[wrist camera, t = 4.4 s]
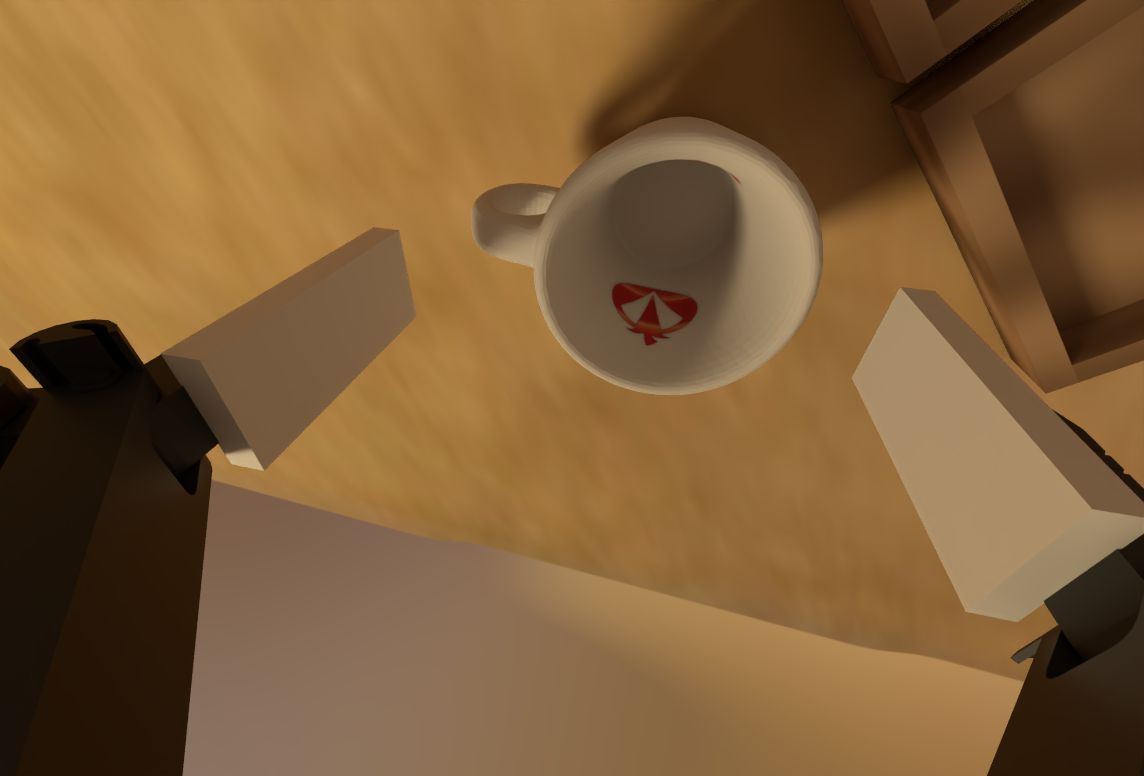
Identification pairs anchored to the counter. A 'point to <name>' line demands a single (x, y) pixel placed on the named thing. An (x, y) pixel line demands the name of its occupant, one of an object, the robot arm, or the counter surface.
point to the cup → (665, 255)
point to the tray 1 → (918, 30)
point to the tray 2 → (1046, 180)
